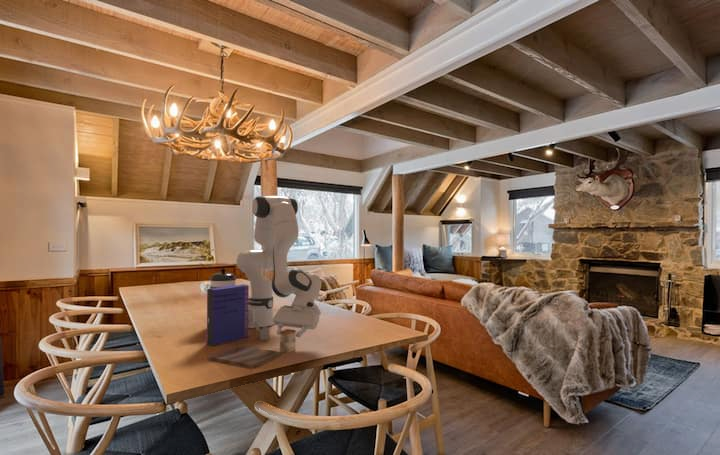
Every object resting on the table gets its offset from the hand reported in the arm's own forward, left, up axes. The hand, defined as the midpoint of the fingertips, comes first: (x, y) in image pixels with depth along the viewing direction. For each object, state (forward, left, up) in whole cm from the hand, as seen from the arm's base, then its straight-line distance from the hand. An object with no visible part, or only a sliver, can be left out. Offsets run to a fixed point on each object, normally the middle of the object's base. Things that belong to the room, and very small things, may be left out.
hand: (288, 335), depth 152 cm
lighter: (-20, +8, -6) cm, 23 cm away
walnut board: (-10, -14, -6) cm, 18 cm away
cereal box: (-32, 0, -6) cm, 33 cm away
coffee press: (-52, +18, -7) cm, 56 cm away
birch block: (0, 0, -6) cm, 6 cm away
